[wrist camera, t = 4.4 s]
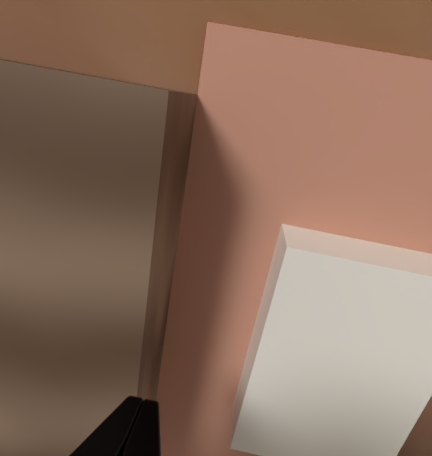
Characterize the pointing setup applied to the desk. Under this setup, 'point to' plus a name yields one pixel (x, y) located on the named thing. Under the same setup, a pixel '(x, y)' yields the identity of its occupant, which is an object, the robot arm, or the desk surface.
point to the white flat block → (336, 349)
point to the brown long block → (84, 248)
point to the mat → (281, 197)
